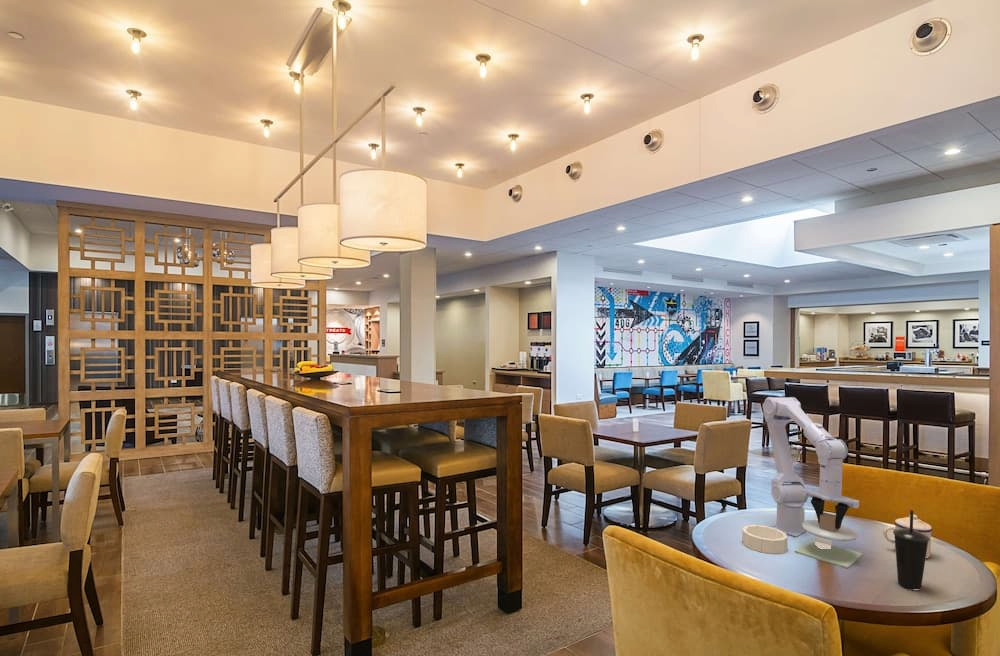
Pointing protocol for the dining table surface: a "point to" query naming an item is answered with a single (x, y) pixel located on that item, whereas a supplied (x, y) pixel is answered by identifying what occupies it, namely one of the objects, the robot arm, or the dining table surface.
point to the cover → (829, 529)
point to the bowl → (764, 539)
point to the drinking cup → (910, 555)
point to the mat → (830, 554)
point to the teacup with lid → (917, 525)
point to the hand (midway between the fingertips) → (829, 525)
